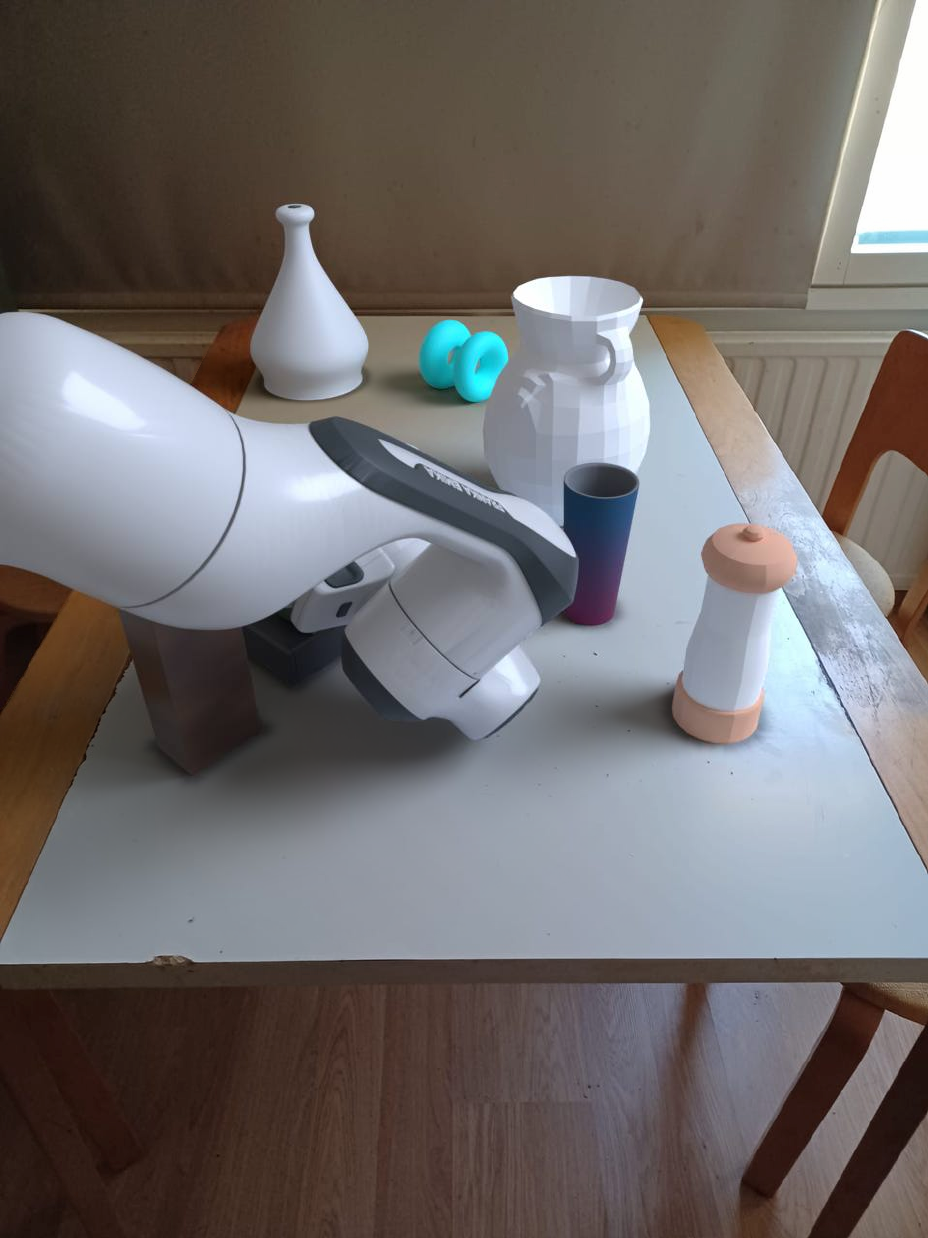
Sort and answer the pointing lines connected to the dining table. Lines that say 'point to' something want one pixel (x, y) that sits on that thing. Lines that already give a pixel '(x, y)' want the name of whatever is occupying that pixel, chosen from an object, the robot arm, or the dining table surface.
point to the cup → (598, 535)
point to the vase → (306, 324)
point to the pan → (291, 648)
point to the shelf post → (193, 689)
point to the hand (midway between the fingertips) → (286, 449)
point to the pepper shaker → (732, 633)
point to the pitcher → (567, 389)
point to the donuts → (462, 359)
